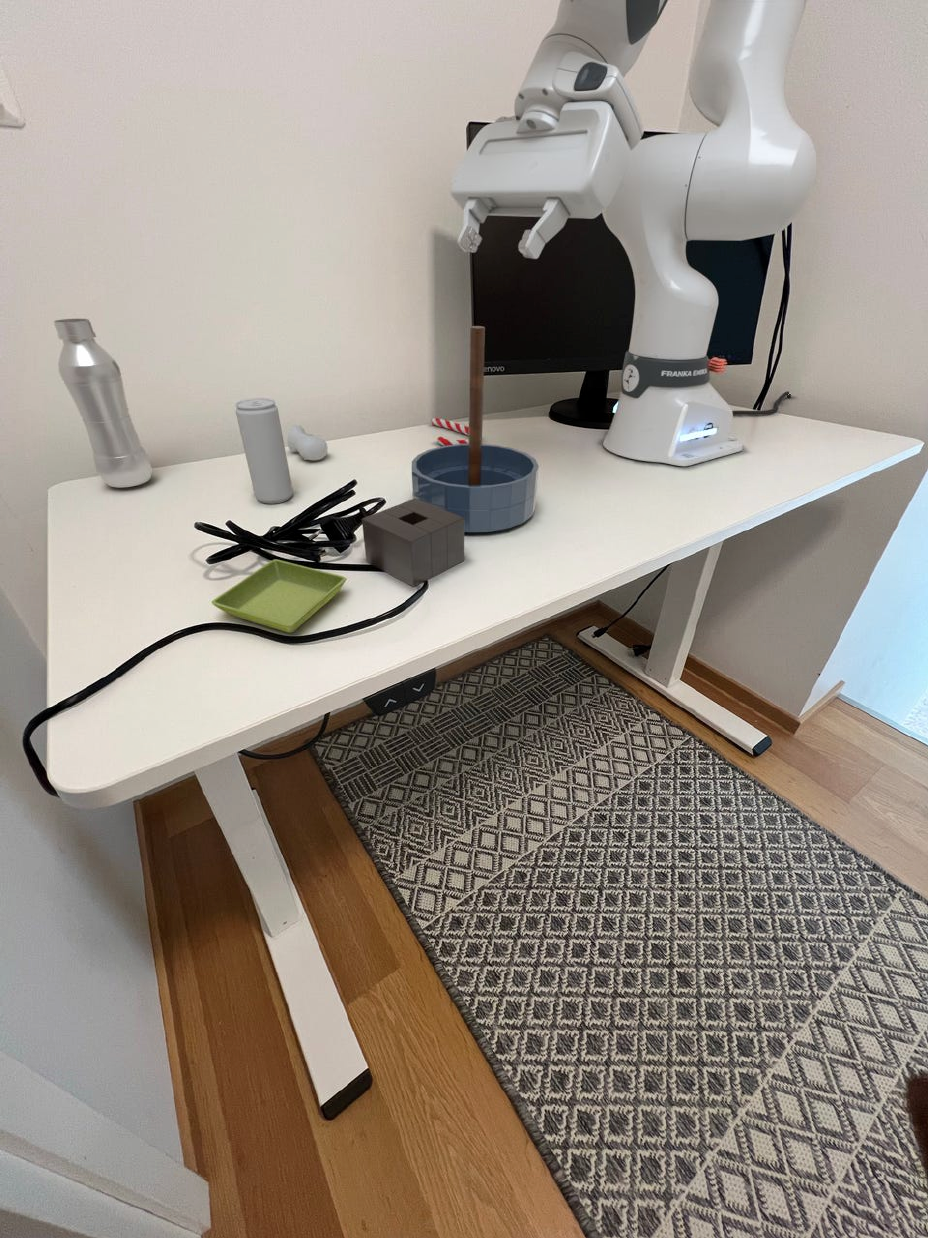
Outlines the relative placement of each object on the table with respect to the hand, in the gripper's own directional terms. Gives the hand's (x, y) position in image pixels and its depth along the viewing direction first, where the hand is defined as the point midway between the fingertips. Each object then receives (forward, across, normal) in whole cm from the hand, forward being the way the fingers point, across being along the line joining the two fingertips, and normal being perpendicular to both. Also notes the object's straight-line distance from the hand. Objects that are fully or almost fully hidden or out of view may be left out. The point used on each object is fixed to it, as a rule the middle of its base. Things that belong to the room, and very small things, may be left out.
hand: (494, 251), depth 56 cm
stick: (+24, +2, +12) cm, 27 cm away
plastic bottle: (+43, -34, -13) cm, 56 cm away
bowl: (+24, +2, +13) cm, 27 cm away
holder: (+32, +9, +2) cm, 33 cm away
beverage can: (+35, -17, -2) cm, 39 cm away
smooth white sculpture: (+29, -29, +8) cm, 42 cm away
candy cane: (+15, -24, +27) cm, 39 cm away
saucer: (+40, +8, -10) cm, 42 cm away
